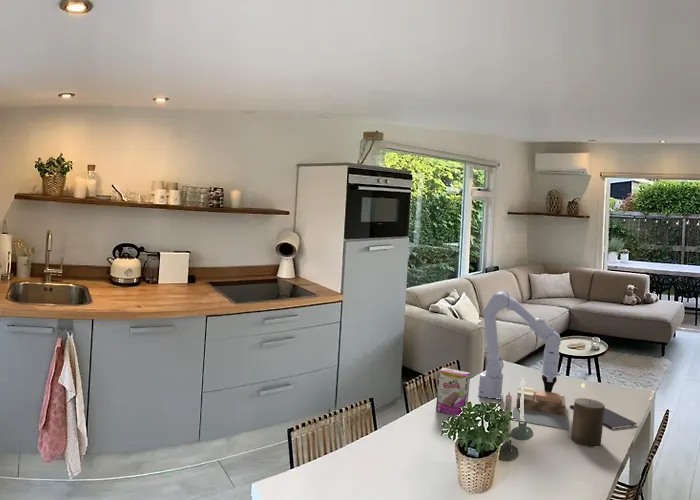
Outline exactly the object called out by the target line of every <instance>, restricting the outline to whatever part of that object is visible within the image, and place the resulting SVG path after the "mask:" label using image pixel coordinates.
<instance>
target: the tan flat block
mask: <svg viewBox="0 0 700 500" xmlns="http://www.w3.org/2000/svg"><path fill="white" fill-rule="evenodd" d="M515 408H520V398H517V397H516V405H515ZM566 408H567V407H566V399H565V396H563V395H560V403H553V402H547V401H541V400H536V391H534V395H533V400H527V399H524V409H527V410H533V411H539V412H545V413H551V414H557V415H562V416H566Z"/></svg>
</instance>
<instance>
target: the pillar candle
mask: <svg viewBox="0 0 700 500" xmlns="http://www.w3.org/2000/svg"><path fill="white" fill-rule="evenodd" d="M573 405H574V410H573V414H572V415H573V416H572V423H571V430H570V431H571V433H570V439H571V441H573V442H575V443H576V444H578V445H581V446H583V447H589V448H592V447H593V448H598V447H600V446H601V444H602V438H603V427H604V425H603V418H604V408H606V406H605V404H604V403H603V402H601V401H598V400H596V399H591V398H586V397H584V398H583V397H581V398H575V399H574V403H573ZM597 446H598V447H597Z"/></svg>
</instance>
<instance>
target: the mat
mask: <svg viewBox="0 0 700 500" xmlns="http://www.w3.org/2000/svg"><path fill="white" fill-rule="evenodd" d="M512 416H513V417H514V418H516V420H515V421H516V422H520V421H519V420H520V410H519V408H516V406H515V407H513V410H512ZM524 420H525V422H524V423H527V424H531V425H539V426H544V427H550V428H555V429H561V430H567V431H570V423H569V417H568V416H567V415H565V416H562V415H557V414H551V413H545V412H539V411H533V410H527V409H524Z"/></svg>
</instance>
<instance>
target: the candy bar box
mask: <svg viewBox="0 0 700 500" xmlns="http://www.w3.org/2000/svg"><path fill="white" fill-rule="evenodd" d="M470 379H471V372H467V371H462V370H457V369H453V368H452V369H451V368H447V367H441V368H440V369H439V370H438V379H437V380H438V381H437V392H436V393H437V394H436V404H435V405H436V407H435V412H437V411H440V412H439V413H441V412H444V413H443V414H446V413H449V414H448V415H450V414H453V415H452V416H454V415H459V414H460V413H461V412H462V410H461V408H460V406H465V407H466V403H467V402H468V403H469V396H470V395H469V393H470V381H471V380H470Z"/></svg>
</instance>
